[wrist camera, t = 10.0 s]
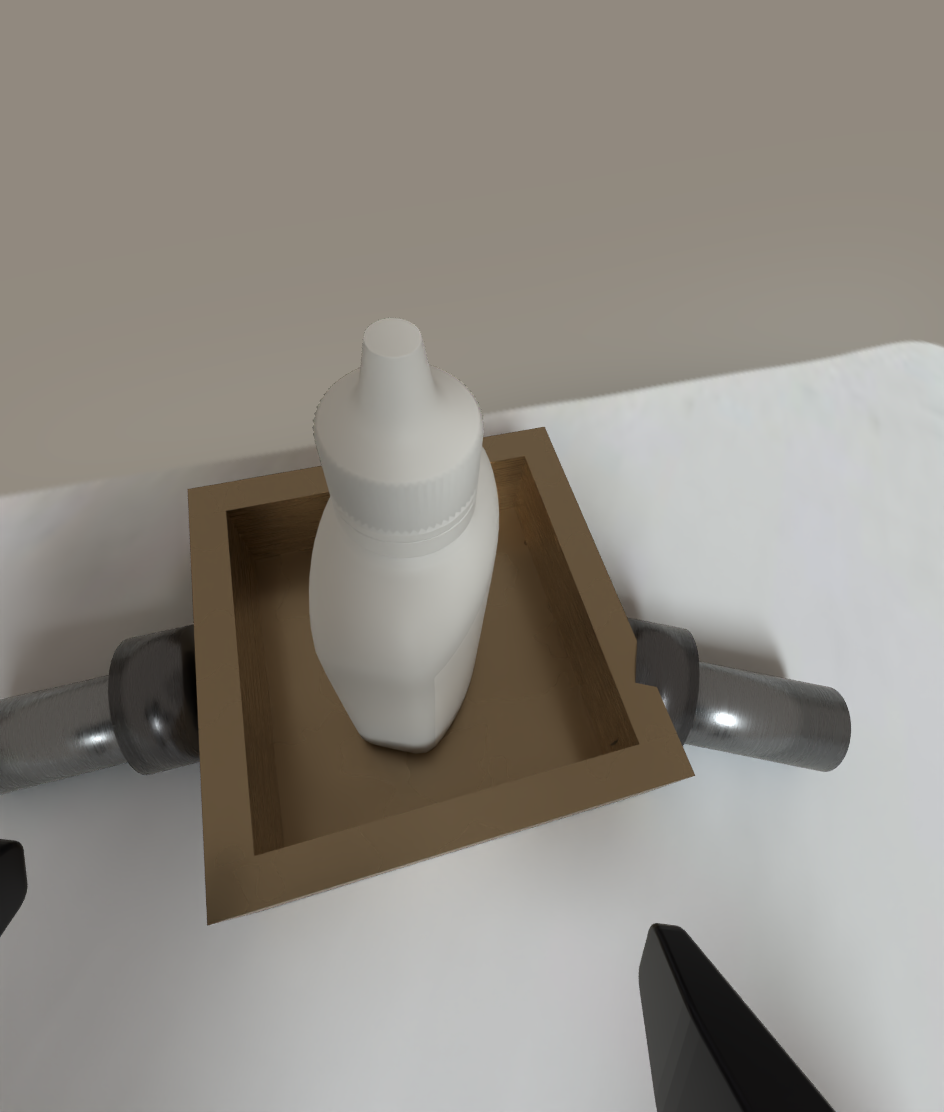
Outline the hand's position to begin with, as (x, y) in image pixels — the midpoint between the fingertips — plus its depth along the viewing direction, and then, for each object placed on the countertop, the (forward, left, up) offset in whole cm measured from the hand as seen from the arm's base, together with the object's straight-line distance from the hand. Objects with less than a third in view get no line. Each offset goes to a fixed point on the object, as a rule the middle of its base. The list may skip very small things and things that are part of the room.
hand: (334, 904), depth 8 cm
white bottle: (+2, -6, -7) cm, 10 cm away
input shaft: (+9, +1, -8) cm, 12 cm away
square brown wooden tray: (+3, -6, -8) cm, 10 cm away
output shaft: (-6, -9, -8) cm, 13 cm away
